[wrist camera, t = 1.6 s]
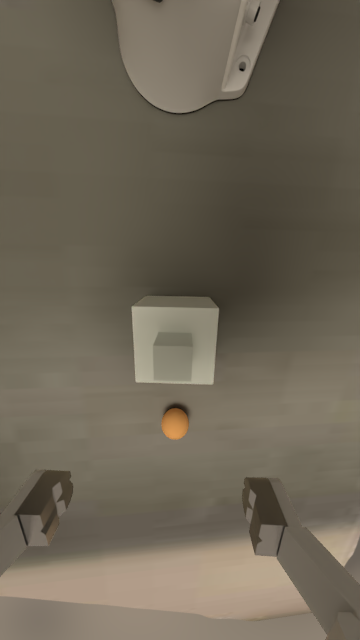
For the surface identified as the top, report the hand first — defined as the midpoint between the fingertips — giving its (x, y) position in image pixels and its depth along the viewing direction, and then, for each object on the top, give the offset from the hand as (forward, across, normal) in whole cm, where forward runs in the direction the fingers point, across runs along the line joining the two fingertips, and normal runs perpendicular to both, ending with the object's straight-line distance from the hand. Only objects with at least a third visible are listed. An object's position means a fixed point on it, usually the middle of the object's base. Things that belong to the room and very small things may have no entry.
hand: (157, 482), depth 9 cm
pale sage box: (+24, 0, 0) cm, 24 cm away
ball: (+21, 0, +18) cm, 28 cm away
